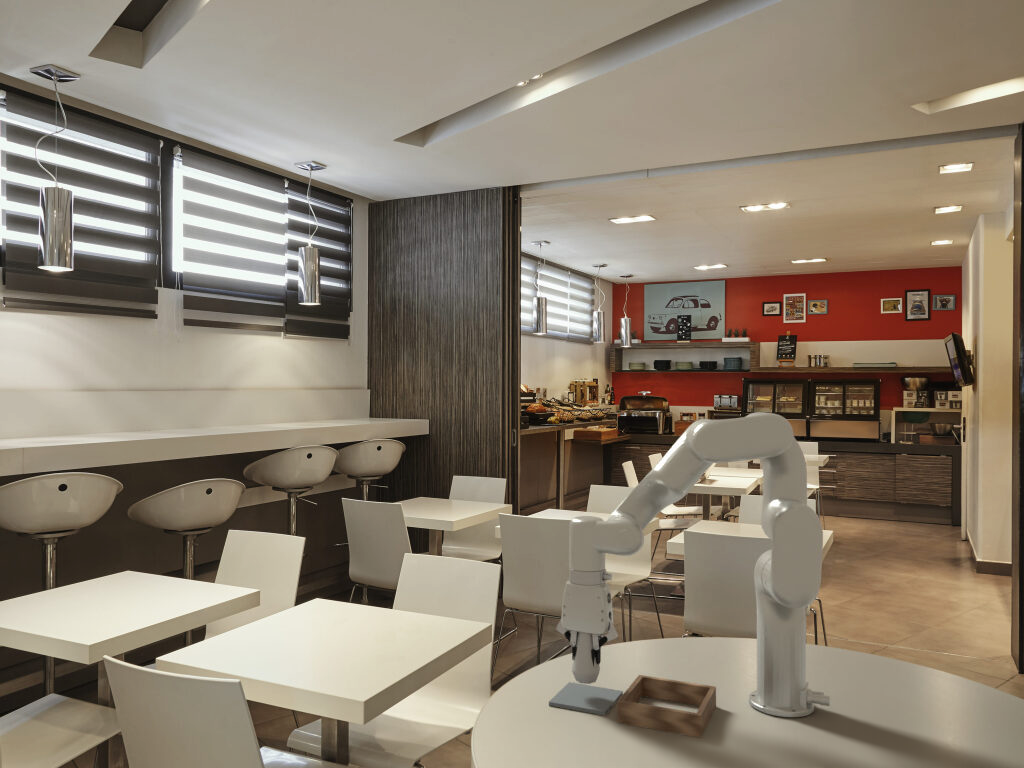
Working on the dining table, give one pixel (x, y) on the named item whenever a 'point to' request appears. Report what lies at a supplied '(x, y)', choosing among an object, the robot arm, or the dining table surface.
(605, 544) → the robot arm
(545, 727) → the dining table surface
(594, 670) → the salt shaker
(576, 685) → the mat
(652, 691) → the bin
